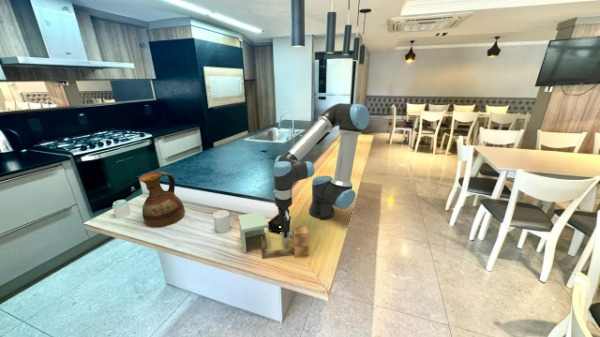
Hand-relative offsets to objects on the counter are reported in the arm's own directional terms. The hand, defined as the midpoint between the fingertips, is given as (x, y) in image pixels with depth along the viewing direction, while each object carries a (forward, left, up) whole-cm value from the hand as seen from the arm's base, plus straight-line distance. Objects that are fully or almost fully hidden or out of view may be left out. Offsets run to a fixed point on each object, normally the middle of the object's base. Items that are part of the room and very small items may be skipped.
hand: (285, 241), depth 108 cm
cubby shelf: (+13, -8, -2) cm, 16 cm away
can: (+80, -55, -3) cm, 97 cm away
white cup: (+27, -24, -3) cm, 36 cm away
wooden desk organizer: (-5, +7, -2) cm, 9 cm away
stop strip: (-5, -8, -2) cm, 10 cm away
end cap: (-1, -16, -3) cm, 16 cm away
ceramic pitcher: (+57, -45, -3) cm, 73 cm away
